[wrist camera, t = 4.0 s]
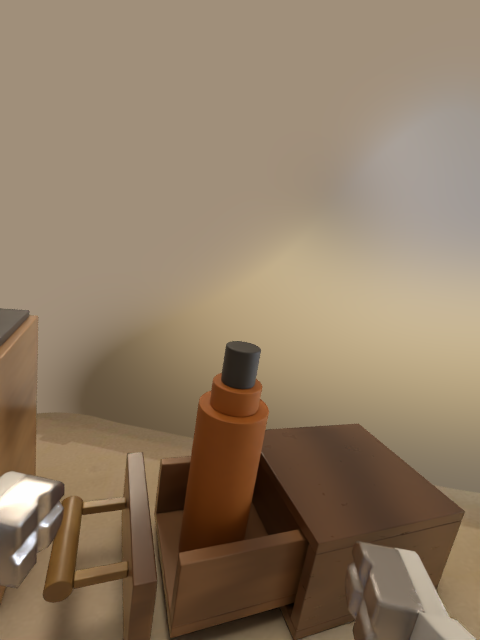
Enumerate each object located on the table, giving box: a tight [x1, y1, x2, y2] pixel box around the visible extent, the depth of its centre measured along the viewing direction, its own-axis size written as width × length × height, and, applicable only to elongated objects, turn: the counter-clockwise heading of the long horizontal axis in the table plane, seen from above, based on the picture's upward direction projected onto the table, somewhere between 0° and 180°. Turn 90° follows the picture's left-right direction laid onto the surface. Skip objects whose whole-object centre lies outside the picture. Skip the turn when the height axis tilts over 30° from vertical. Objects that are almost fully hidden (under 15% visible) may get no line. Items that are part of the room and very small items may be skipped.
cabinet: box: [260, 424, 465, 640], centre depth 27 cm, size 13×12×8 cm
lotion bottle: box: [179, 341, 269, 553], centre depth 22 cm, size 5×5×16 cm
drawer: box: [43, 452, 309, 640], centre depth 23 cm, size 16×10×6 cm, turn 110°
